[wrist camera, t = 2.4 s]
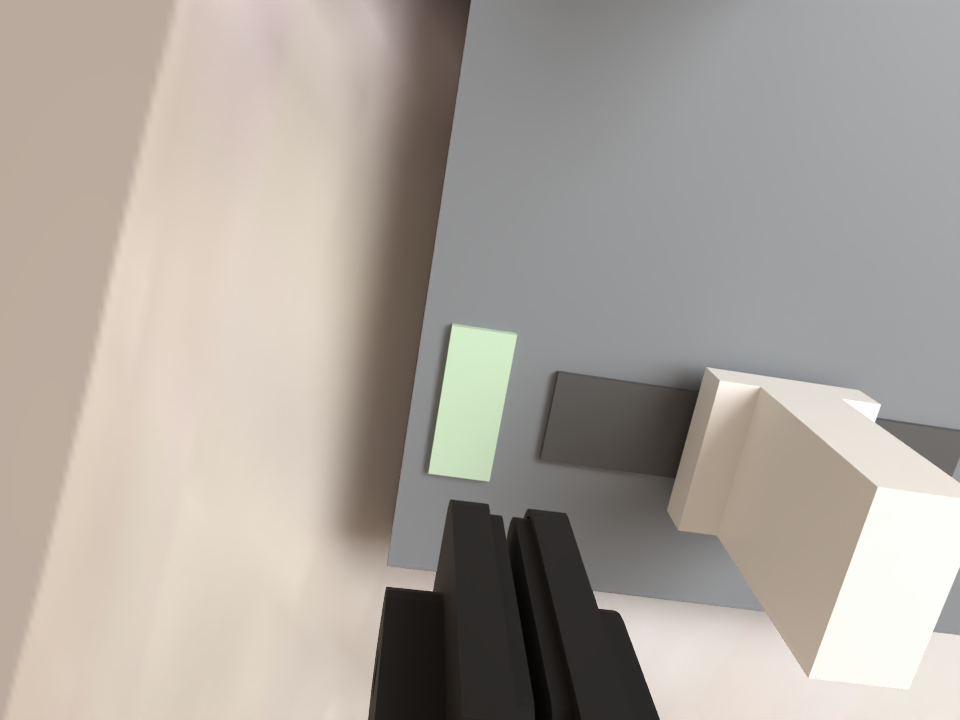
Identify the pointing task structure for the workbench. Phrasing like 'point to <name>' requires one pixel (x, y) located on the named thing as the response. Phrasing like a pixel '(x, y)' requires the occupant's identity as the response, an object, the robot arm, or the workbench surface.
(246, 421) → the workbench surface
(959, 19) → the breaker panel
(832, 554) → the breaker handle
